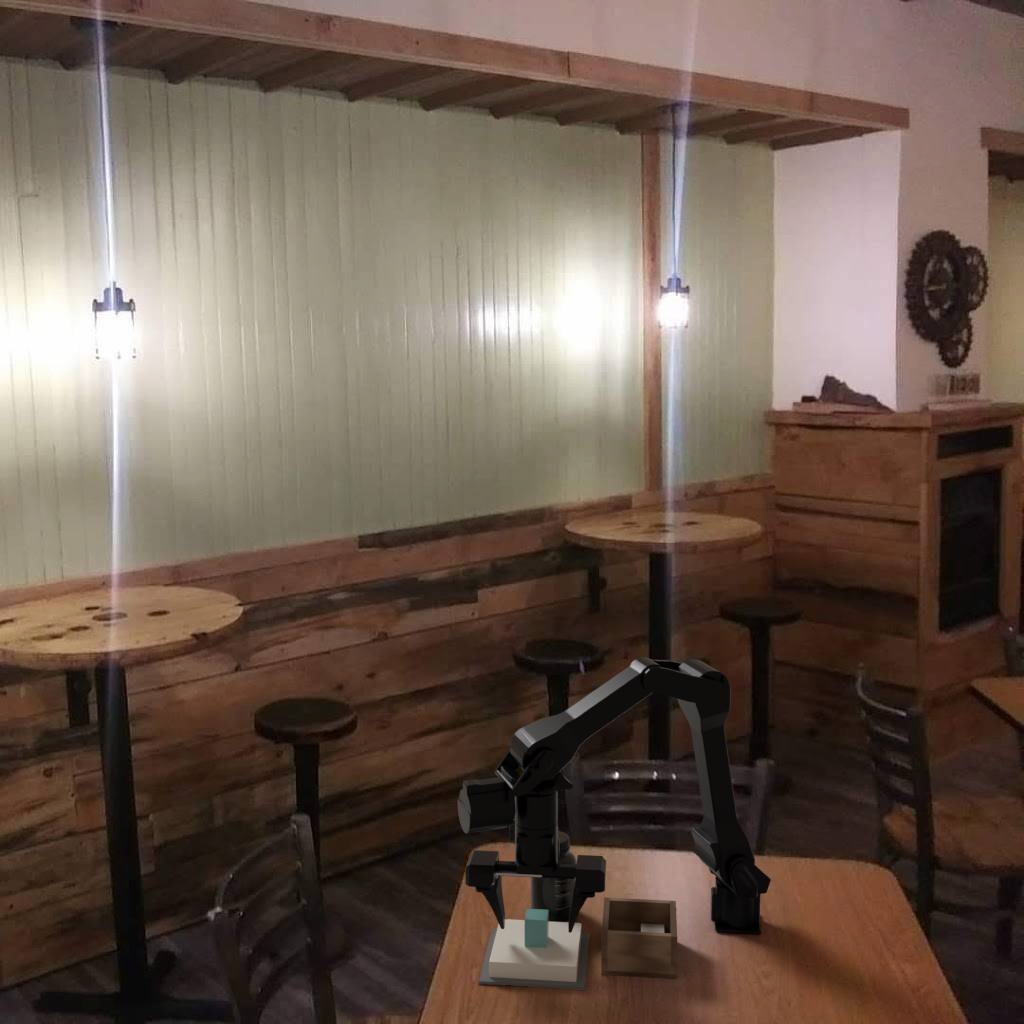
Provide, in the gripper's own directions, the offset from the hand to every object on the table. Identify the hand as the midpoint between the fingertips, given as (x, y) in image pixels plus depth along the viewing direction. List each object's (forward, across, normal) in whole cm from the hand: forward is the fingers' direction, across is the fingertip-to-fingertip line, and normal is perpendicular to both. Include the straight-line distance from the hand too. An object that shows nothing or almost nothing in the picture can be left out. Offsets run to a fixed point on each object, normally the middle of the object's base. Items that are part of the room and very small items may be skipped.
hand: (536, 929), depth 168 cm
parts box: (+4, -14, -2) cm, 15 cm away
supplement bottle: (+5, -1, -13) cm, 14 cm away
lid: (+4, 0, 0) cm, 4 cm away
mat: (+4, 0, 0) cm, 4 cm away
